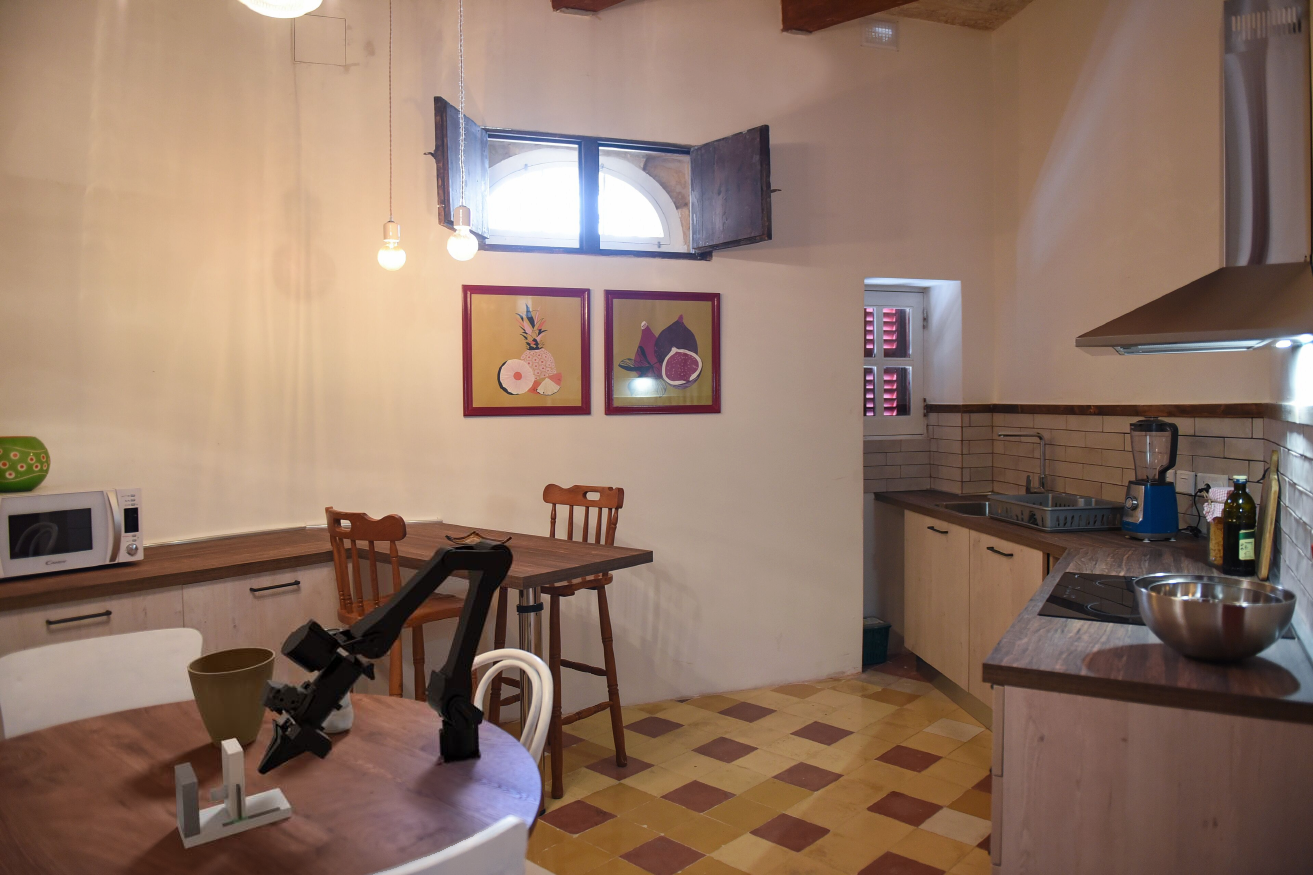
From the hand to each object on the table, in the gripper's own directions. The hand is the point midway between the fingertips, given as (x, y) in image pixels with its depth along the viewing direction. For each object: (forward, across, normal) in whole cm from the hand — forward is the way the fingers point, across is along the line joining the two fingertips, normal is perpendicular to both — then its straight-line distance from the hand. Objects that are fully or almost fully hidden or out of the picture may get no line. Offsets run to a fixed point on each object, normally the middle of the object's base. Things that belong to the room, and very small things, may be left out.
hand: (259, 772), depth 128 cm
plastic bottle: (-8, -26, +18) cm, 33 cm away
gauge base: (+7, 0, +2) cm, 7 cm away
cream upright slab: (+7, +1, 0) cm, 7 cm away
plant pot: (+3, -33, +6) cm, 34 cm away
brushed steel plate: (+11, 0, -4) cm, 11 cm away
